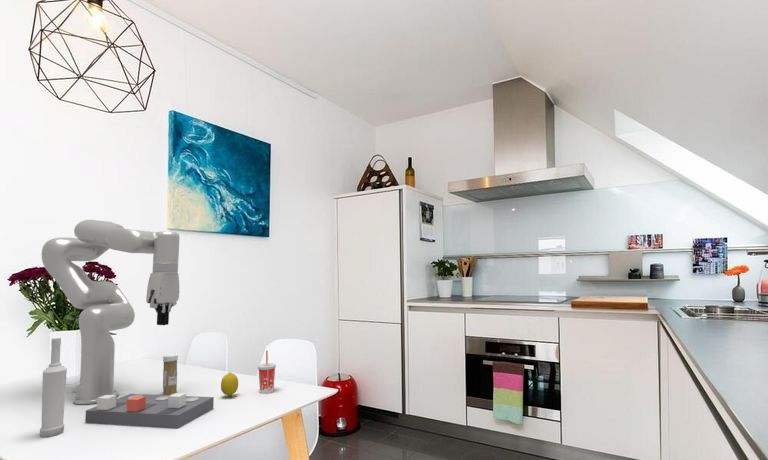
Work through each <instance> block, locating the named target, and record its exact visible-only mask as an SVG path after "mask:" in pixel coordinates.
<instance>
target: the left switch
mask: <svg viewBox="0 0 768 460" xmlns="http://www.w3.org/2000/svg"><path fill="white" fill-rule="evenodd" d="M116 399H117V397H116V395H104V396H102V397H99V398H97V403H96V406H97V410H109V409H111V408H114V407H116Z"/></svg>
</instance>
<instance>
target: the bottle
mask: <svg viewBox="0 0 768 460" xmlns="http://www.w3.org/2000/svg"><path fill="white" fill-rule="evenodd" d="M61 344H62V337H54V338H51V350H50V351H51V352H50V363H49V364H48V367H46V369H44V370H43V371H42V394H41V395H42V396H41V398H42V399H41V427H40V429H39V435H40V437H41V438H50V437H55V436H58V435H60V434H62V433H64V430H65V423H64V415H65V400H66V388H67V387H66V384H67V373H68V372H67V370H68V368H66V367H65V366H63V365H62V362H61V346H62V345H61Z"/></svg>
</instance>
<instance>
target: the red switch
mask: <svg viewBox="0 0 768 460" xmlns="http://www.w3.org/2000/svg"><path fill="white" fill-rule="evenodd" d="M145 408H146V397H143V396H134V397H132V398H129V399H127V411H133V412H138V411H140V410H142V409H145Z"/></svg>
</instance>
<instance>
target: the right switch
mask: <svg viewBox="0 0 768 460" xmlns="http://www.w3.org/2000/svg"><path fill="white" fill-rule="evenodd" d="M186 396H187V393H185V392H184V393H183V392H181V393H180V392H179V393H178V392H177V393H175V394H172V395H170V396H168V408H181V407H183V406H185V405H186Z"/></svg>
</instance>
